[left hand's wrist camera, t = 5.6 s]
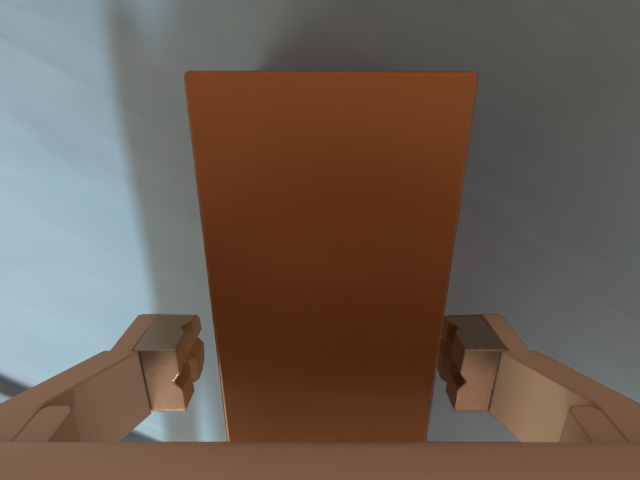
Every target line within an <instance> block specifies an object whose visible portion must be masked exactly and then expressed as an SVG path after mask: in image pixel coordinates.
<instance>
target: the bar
mask: <svg viewBox="0 0 640 480" xmlns="http://www.w3.org/2000/svg"><path fill="white" fill-rule="evenodd" d="M184 82H185V90H186V99H187V107H188V115H189V124H190V132H191V140H192V149H193V157H194V165H195V174H196V182H197V191H198V199H199V207H200V216H201V224H202V232H203V241H204V249H205V258H206V266H207V274H208V283H209V291H210V299H211V308H212V316H213V324H214V333H215V341H216V350H217V358H218V366H219V375H220V383H221V391H222V400H223V408H224V417H225V425H226V433H227V442H426V437H427V430H428V423H429V417H430V410H431V403H432V396H433V389H434V382H435V375H436V368H437V361H438V354H439V347H440V340H441V333H442V326H443V319H444V312H445V305H446V298H447V291H448V284H449V277H450V270H451V263H452V256H453V249H454V242H455V235H456V228H457V221H458V214H459V207H460V200H461V193H462V186H463V179H464V172H465V165H466V158H467V151H468V144H469V138H470V131H471V124H472V117H473V110H474V103H475V96H476V89H477V82H478V74H477V73H476V72H473V71H187V72H185V75H184Z"/></svg>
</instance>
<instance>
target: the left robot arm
mask: <svg viewBox="0 0 640 480" xmlns="http://www.w3.org/2000/svg"><path fill="white" fill-rule="evenodd" d="M200 331H201V323H200V318H199V317H198V316H197V315H177V314H142V315H138V317H137V318H136V319H135V320H134V322H133V323H132V324H131V325H130V327H129V328H128V329H127V330H126V332H125V333H124V334H123V335H122V337H121V338H120V339H119V340H118V342H117V343H116V344H115V345H114V347H113V348H112V349H111V350H110V351H103V352H101V353H99V354H97V355H95V356H93V357H91V358H89V359H87V360H85V361H83V362H81V363H79V364H77V365H76V366H74V367H72V368H70V369H68V370H66V371H64V372H62V373H60V374H58V375H56V376H54V377H52V378H50V379H48V380H46V381H44V382H42V383H40V384H38V385H36V386H34V387H32V388H30V389H28V390H26V391H25V392H23V393H21V394H19V395H17V396H15V397H13V398H11V399H9V400H7V401H5V402H3V403H1V404H0V480H640V404H639V403H637V402H635V401H633V400H631V399H629V398H627V397H625V396H623V395H621V394H619V393H617V392H615V391H613V390H611V389H609V388H607V387H606V386H604V385H602V384H600V383H598V382H596V381H594V380H592V379H590V378H588V377H586V376H584V375H582V374H580V373H578V372H576V371H574V370H572V369H570V368H568V367H566V366H564V365H563V364H561V363H559V362H557V361H555V360H553V359H551V358H549V357H547V356H545V355H543V354H541V353H539V352H537V351H530V350H529V349H528V348H527V347H526V345H525V344H524V343H523V342H522V340H521V339H520V338H519V337H518V335H517V334H516V333H515V332H514V330H513V329H512V328H511V327H510V325H509V324H508V323H507V322H506V320H505V319H504V318H503V317H502V316H501V315H499V314H479V315H444V319H443V326H442V333H441V335H442V338H441V340H440V347H439V354H438V361H437V369H438V372H439V375H440V377H441V379H443V380H444V381H446V382H447V387H446V392H447V394H448V397H449V399H450V401H451V404H452V406H453V408H454V411H486V412H489V414H490V415H491V416H493V417H494V418H495V419H496V420H497V421H498V422H499V423H501V424H502V425H503V426H504V427H505V428H506V429H507V430H508V431H510V432H511V433H512V434H513V435H514V436H515V437H516V438H518V439H519V440H520V441H521V442H119V441H120V440H121V439H123V438H124V437H125V436H126V435H127V434H128V433H129V432H131V431H132V430H133V429H134V428H135V427H136V426H137V425H139V424H140V423H141V422H142V421H143V420H144V419H145V418H147V417H148V416H149V415H150V414H151V412H154V411H186V409H187V406H188V404H189V402H190V399H191V397H192V394H193V392H194V387H193V382H195V381H196V380H197V379H199V377H200V375H201V372H202V369H203V363H204V344H203V342H202V341H201V340H200V339H199V338H198V335H199V333H200Z"/></svg>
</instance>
